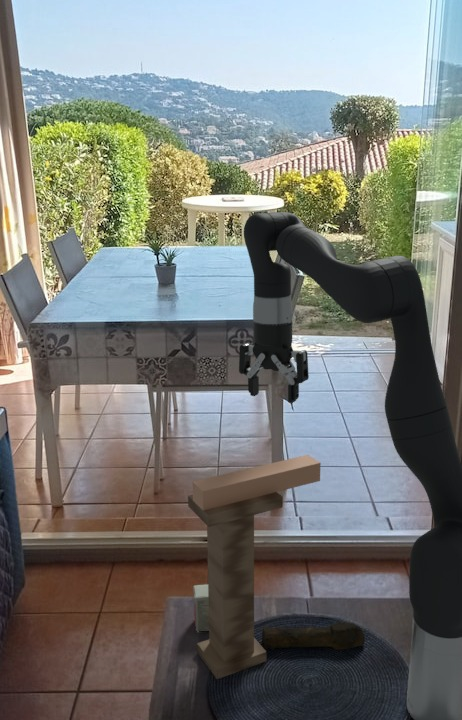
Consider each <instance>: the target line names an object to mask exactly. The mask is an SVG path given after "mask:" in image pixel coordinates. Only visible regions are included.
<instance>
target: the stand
mask: <svg viewBox="0 0 462 720" xmlns="http://www.w3.org/2000/svg"><path fill="white" fill-rule="evenodd" d="M283 499H284V498H283V495H281V494H280V493H278V492H275V493H271V494H267V495H263V496H259V497H255V498H251V499H247V500H243V501H239V502H235V503H231V504H227V505H223V506H220V507H216V508H212V509H208V510H204V511H203V510H202V509H201V508H200V507H199V506H198V505H197V504H196V503H195V502H194V501H193V494H191V495H189V494H188V495H187V505H188V508H189V509H190V510H191V512H193V513H194V514H195V515H196V516H197V517H198V518H199V519H200V520H201V521H202V522H203V523H204V525H206V536H207V537H206V539H207V540H206V541H207V584H208V599H209V632H208V636H209V637H208V639H206V640H205V639H204V640H203V641H200V642H197V643H196V647H197V649H196V650H197V652H198V653H199V654H198V653H197V654H198V655H199V657H200V656H201V657H200V658H201V659H202V661H203V662H204V663H205V665H206V667H207V666H208V667H207V668H208V669H209V671H210V670H211V671H210V672H211V674H212V675H213V676H214V677H215V679H216V680H219V679H222V678H225V677H227V676H230V675H233V674H235V673H238V672H240V671H243V670H246V669H249V668H251V667H255V666H257V665H260V664H262V663H265V662H267V650H265V649H264V648H263V645H261V644H260V643H259V641H258V640H257V639H256V638H255V515H258V514H263V513H267V512H269V511H270V512H271V511H274V510H277V509H281V508H283V505H284V504H283Z"/></svg>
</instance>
